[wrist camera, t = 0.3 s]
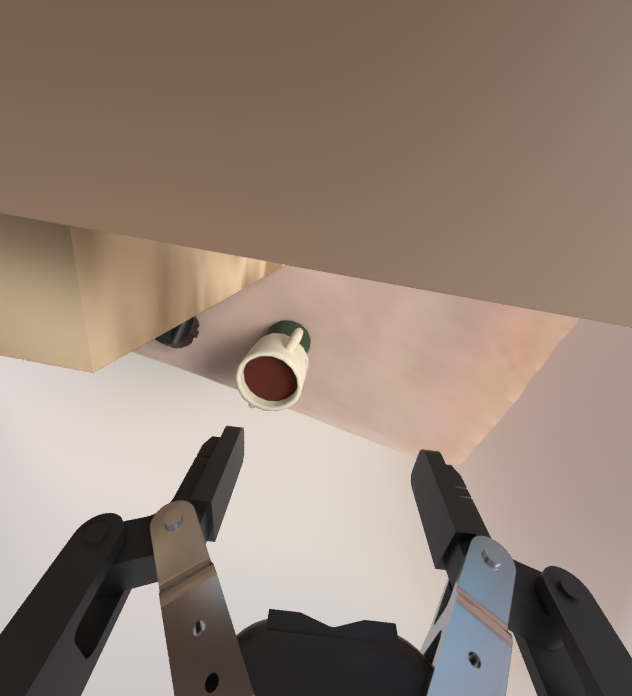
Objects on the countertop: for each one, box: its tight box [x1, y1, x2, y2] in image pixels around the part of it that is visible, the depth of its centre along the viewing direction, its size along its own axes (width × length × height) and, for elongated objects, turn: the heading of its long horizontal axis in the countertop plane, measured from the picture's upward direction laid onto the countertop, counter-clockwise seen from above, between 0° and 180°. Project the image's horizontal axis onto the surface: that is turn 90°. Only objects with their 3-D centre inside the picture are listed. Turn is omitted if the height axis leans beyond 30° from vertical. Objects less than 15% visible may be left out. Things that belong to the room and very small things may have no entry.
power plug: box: [155, 316, 199, 348], centre depth 39 cm, size 6×8×12 cm
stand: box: [0, 213, 284, 373], centre depth 20 cm, size 12×15×32 cm
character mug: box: [235, 321, 311, 411], centre depth 35 cm, size 11×7×13 cm, turn 147°
